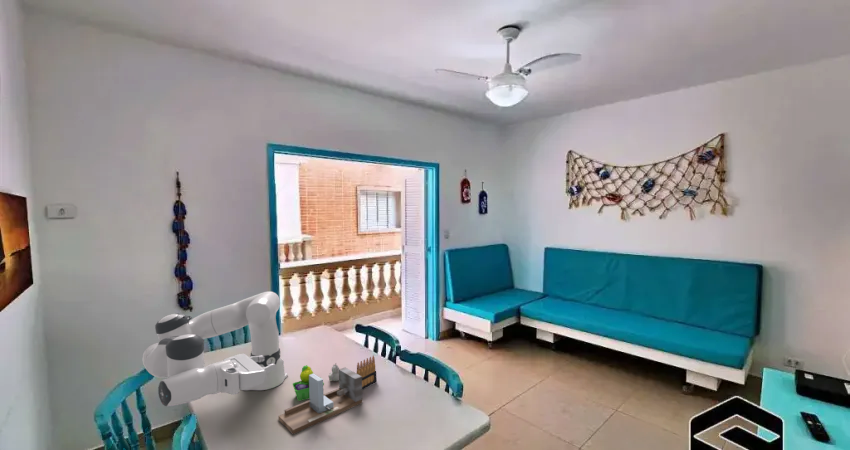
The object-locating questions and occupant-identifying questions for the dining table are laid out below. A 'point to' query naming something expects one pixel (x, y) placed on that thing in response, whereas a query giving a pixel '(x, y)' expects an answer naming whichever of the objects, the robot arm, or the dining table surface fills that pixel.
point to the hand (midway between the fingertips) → (269, 361)
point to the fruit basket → (303, 384)
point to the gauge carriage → (318, 395)
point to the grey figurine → (334, 373)
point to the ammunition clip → (367, 372)
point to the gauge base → (341, 397)
